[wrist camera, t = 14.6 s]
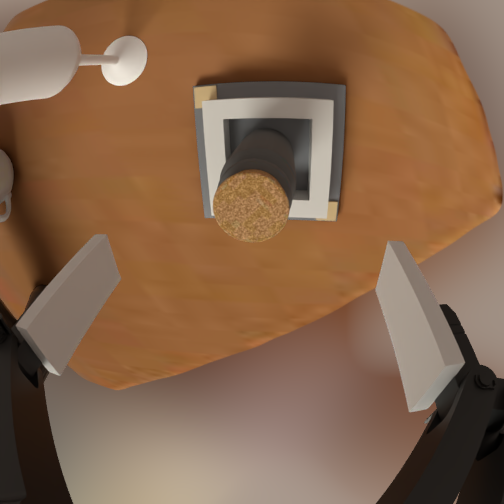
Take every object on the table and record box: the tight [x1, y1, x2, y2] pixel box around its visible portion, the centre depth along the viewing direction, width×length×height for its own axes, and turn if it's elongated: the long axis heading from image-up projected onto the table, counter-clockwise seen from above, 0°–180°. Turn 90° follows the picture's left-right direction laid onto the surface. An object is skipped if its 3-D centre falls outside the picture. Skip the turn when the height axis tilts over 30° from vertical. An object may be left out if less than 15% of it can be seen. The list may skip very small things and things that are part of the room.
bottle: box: [213, 128, 296, 242], centre depth 23 cm, size 6×6×15 cm
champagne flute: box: [0, 25, 147, 105], centre depth 15 cm, size 7×7×24 cm
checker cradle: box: [193, 81, 346, 221], centre depth 29 cm, size 16×16×4 cm
